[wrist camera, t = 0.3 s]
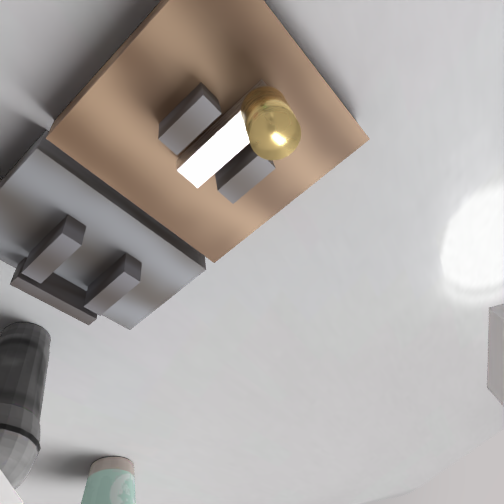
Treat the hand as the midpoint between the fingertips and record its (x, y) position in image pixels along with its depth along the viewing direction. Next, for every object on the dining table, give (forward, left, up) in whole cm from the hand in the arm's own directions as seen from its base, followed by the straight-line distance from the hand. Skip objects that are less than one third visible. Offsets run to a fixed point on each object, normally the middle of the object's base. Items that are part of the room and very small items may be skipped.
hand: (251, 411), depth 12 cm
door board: (+6, +3, -26) cm, 27 cm away
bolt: (0, +3, -23) cm, 23 cm away
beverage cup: (+30, +6, -26) cm, 41 cm away
